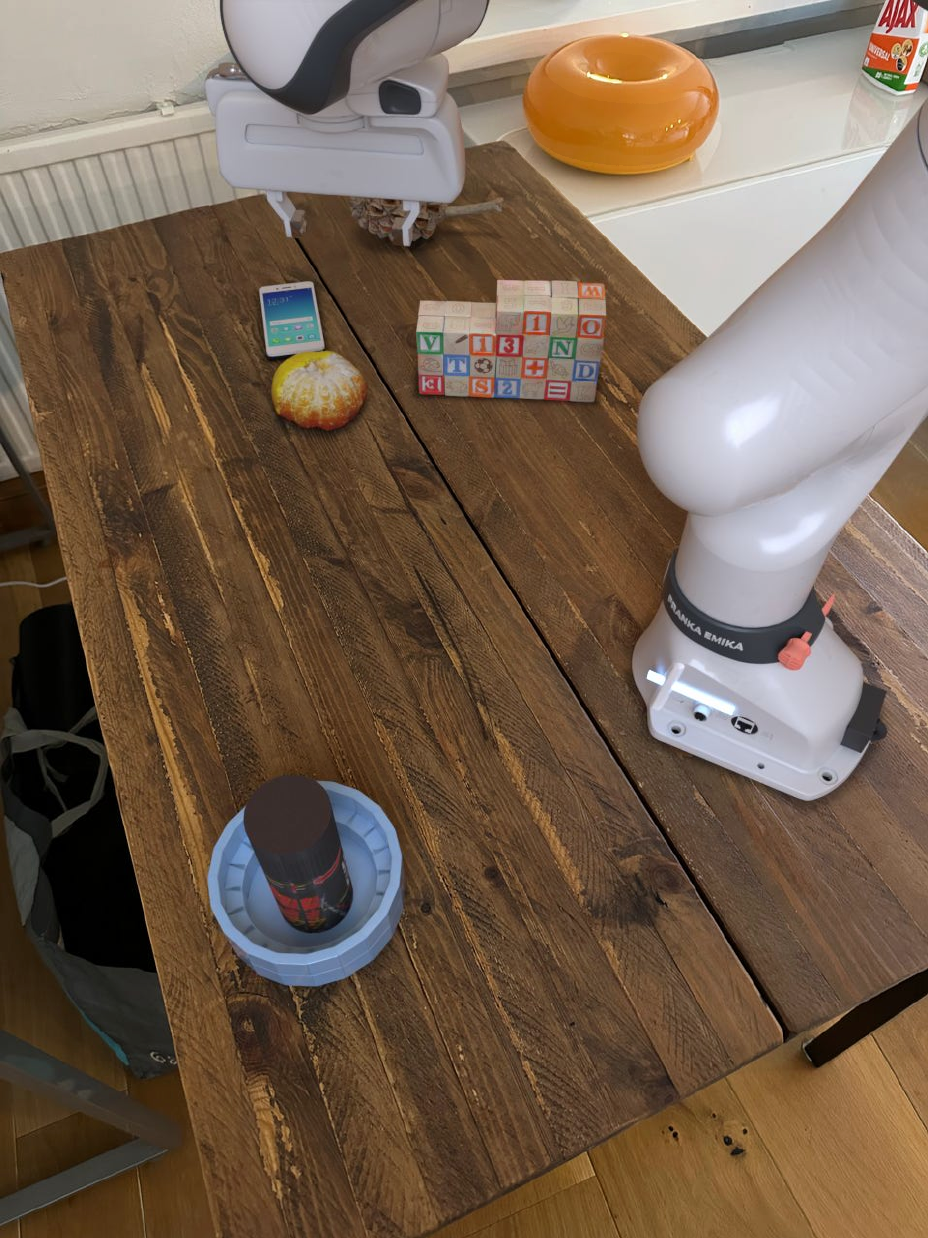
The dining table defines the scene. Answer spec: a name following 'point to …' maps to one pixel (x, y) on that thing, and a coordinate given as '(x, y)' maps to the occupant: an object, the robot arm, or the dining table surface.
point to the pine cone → (383, 213)
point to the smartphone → (290, 320)
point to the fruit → (318, 390)
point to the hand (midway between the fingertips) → (349, 238)
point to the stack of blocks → (515, 342)
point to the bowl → (262, 927)
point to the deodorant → (300, 852)
